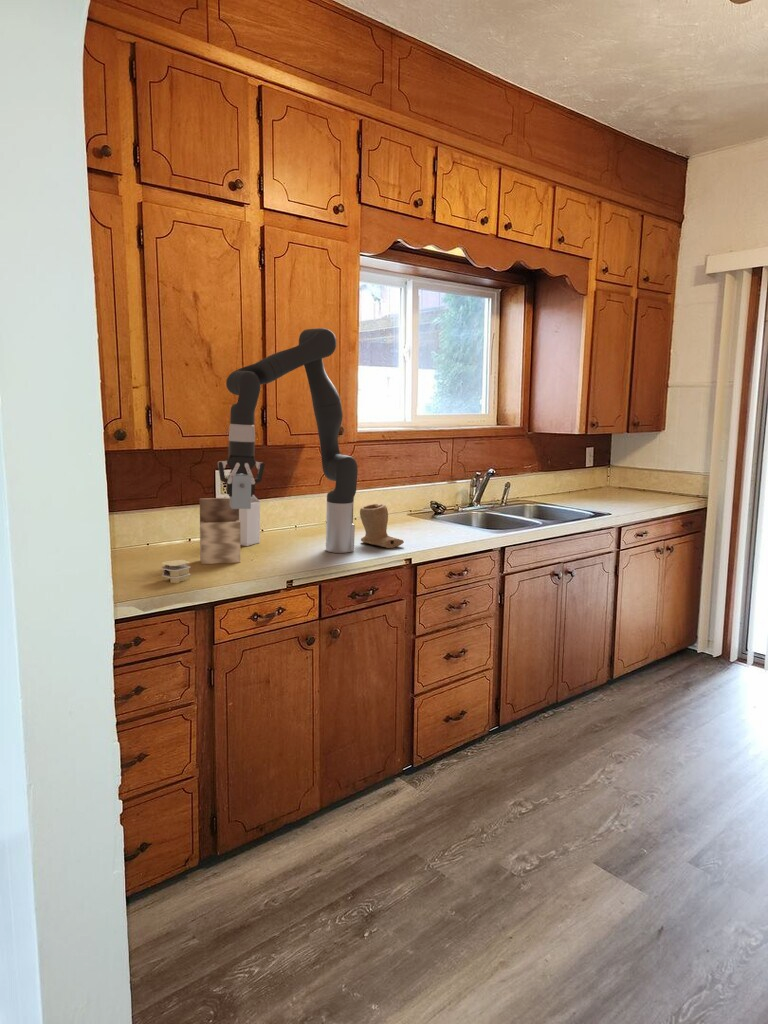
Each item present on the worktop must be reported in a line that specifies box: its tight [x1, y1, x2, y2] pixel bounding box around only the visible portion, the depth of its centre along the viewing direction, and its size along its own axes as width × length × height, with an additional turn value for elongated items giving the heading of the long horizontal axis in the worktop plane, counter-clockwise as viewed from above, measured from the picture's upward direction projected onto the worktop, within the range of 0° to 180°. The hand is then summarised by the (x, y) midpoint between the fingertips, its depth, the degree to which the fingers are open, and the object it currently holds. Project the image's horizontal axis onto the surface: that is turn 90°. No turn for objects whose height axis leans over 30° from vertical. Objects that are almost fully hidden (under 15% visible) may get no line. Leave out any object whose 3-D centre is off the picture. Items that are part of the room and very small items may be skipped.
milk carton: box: [239, 494, 261, 547], centre depth 240 cm, size 7×7×19 cm
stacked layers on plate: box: [161, 559, 192, 584], centre depth 194 cm, size 10×9×6 cm
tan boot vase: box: [359, 503, 404, 549], centre depth 245 cm, size 15×12×15 cm
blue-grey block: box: [228, 471, 252, 509], centre depth 206 cm, size 6×10×10 cm, turn 19°
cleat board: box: [199, 497, 241, 565], centre depth 215 cm, size 12×5×20 cm, turn 109°
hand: (240, 496), depth 204 cm, fingers closed on blue-grey block, 5 cm apart
